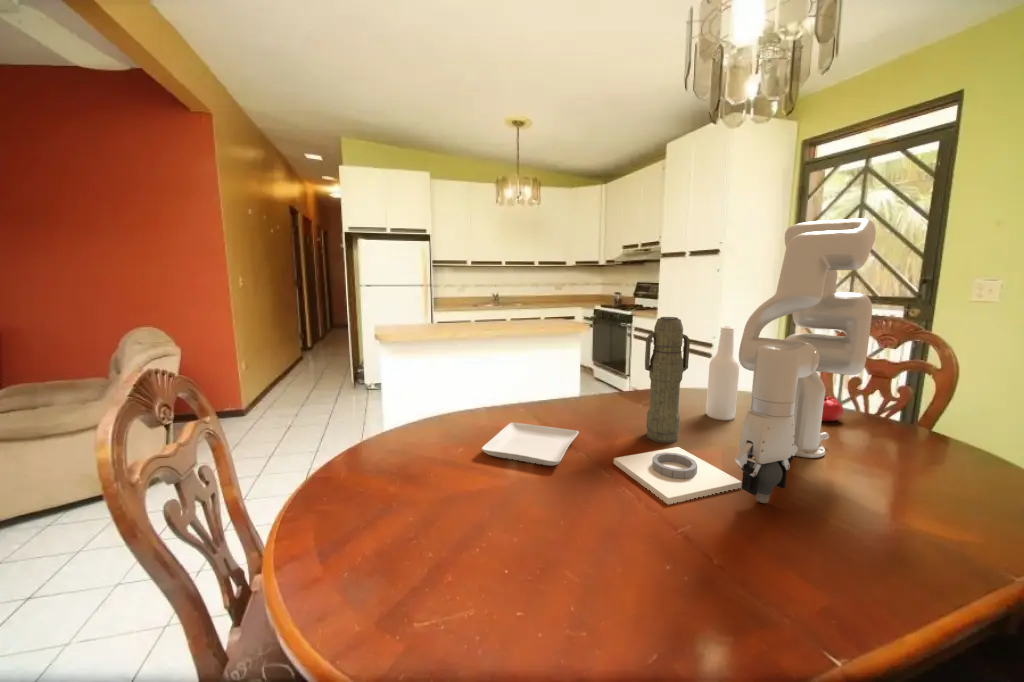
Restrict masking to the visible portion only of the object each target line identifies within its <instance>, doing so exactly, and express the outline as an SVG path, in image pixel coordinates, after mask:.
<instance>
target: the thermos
mask: <svg viewBox="0 0 1024 682" xmlns="http://www.w3.org/2000/svg"><path fill="white" fill-rule="evenodd" d="M652 339H653V342H652ZM652 343H653V349H652V354H651V348H652V345H651V344H652ZM690 344H691V339H690V338H689V336H688V335H687V334H685V333H684V327H683V324H682V320H681V318H679V317H675V316H660V318H657V320H656V322H655V325H654V328H653V332H651V333H649V334H648V336H647V337H646V338H645V351H644V352H645V353H644V355H645V356H644V370H646V371H648V372H649V376H648V377H649V380H650V391H649V408H648V411H647V413H646V425H645V427H646V435H645V436H646V438H647V439H649V440H651V441H654V442H656V443H662V444H672V443H676V442H677V441H678V440H679V431H680V421H681V417H680V416H681V415H680V412H679V406H680V405H679V404H680V390H681V389H680V388H681V383H682V380H683V374H684V372H685V371H686V370H688V369H689V357H690V347H691V346H690ZM682 347H683V351H682Z"/></svg>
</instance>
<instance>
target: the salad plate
mask: <svg viewBox="0 0 1024 682" xmlns="http://www.w3.org/2000/svg"><path fill="white" fill-rule="evenodd" d="M579 433H580V432H579V430H574V429H568V428H561V427H560V428H559V427H552V426H545V425H535V424H528V423H522V422H521V423H520V422H509V423H508V424H507V425H506V426H505V427H504V428H502V429H501V430H500V431H499V432H497V434H495V435H494V436H493V437H492V438H491V439H490V440H489V441H488V442H486V443H485V444H484V445H483V446H482V447H481V450H482V451H483V452H484V453H485V454H486V455H489V456H492V457H497V458H501V459H506V458H507V459H508V460H512V459H513V461H517V460H519V461H518V462H523V461H524V462H525V463H529V462H530V463H529V464H535V463H536V465H541V464H542V465H543V466H551V467H552V466H556V465H559V464H560V463H561V461H562V460H563V457H565V453H566V452H567V451H568V448H569V447H570V445H571V444H572V443H573V441H574V440H575V439H576V438H577V436H578V435H579Z"/></svg>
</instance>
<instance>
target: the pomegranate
mask: <svg viewBox="0 0 1024 682" xmlns="http://www.w3.org/2000/svg"><path fill="white" fill-rule="evenodd" d="M844 412H845V411H844V407H843V404H841V403H840V400H839V399H838V398H837V397H836V396H834V395H831V396H827V391H825V397H824V405H823V413H822V421H821V422H834V421H838V420H839V419H840V418H841V417H842V416H843V414H844Z"/></svg>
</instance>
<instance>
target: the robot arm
mask: <svg viewBox="0 0 1024 682" xmlns="http://www.w3.org/2000/svg"><path fill="white" fill-rule="evenodd" d="M876 234H877V233H876V226H875V223H874V222H873V221H872V220H871V219H869V218H868V219H867V218H849V219H834V220H832V219H831V220H829V219H828V220H815V221H806V222H798V223H796V224H795V223H794V224H792V225H790V226H789V227H788V228H787V229H786V231H785V233H784V245H785V253H784V257H783V260H782V266H781V269H780V273H779V278H778V283H777V288H776V292H775V294H774V295H773V296H772V297H770V298H768V299H767V300H766V301H764V302H763V303H761V304H760V305H759V306H758V307H757V308H756V309H755V310H754V311H753V312H752V313H751V315H750V316H749V318H748V319H747V321H746V323H745V325H744V328H743V332H742V337H741V341H740V345H739V351H738V362H739V365H740V366H741V367H742V368H743V369H745V370H748V371H751V372H753V374H752V375H753V376H752V388H751V397H750V406H749V411H747V412H746V415H745V418H744V421H743V426H742V429H741V433H740V440H739V448H738V453H737V454H736V455H734V461H735V462H736V463H737V465H738V467H739V469H740V471H741V472H742V481H741V482H742V485H741V489H742V490H743V491H745V492H747V493H749V494H751V495H752V496H756V495H757V490H758V481H759V477H758V476H756V475H757V473H758V471H759V469H760V467H761V465H762V464H766V463H771V462H777V463H778V464H779V465H780V467H781V469H782V473H783V474H782V479H781V481H780V482H779V483H778V484H777V485H776V486H775V487H778V488H780V489H785V488H786V485H787V476H788V470H790V467H791V465H790V464H791V462H792V461H793V460H794V456H795V457H801V458H810V459H814V458H815V459H817V458H821V457H823V456H825V454H826V449H825V447H824V446H823V445H821V441H823V440H828V439H829V438H830V434H829V433H828V432H825V431H823V432H821V429H822V422H823V421H822V413H823V405H824V397H825V392H826V387H825V384H824V382H823V380H822V378H820V376H819V375H818V374H817V372H818V373H821V372H823V373H829V374H836V375H844V376H845V375H846V376H856V375H859V374H861V373H862V372H863V371H864V369H865V365H866V362H867V358H868V349H869V343H870V342H869V341H870V335H871V328H872V327H871V326H872V319H873V318H872V317H873V304H872V301H871V300H872V299H870V298H869V296H868V295H866V294H864V293H859V292H841V291H840V292H838V291H837V280H838V271H857V270H859V269H861V268H862V267H863V266H864V265H865V264H866V262H867V260H868V258H869V256H870V253H871V251H872V250H873V249H872V248H873V247H874V245H875V244H874V243H875V240H876ZM788 315H792V320H793V323H794V324H795V326H798V327H799V328H805V329H814V330H825V331H826V330H827V331H836V332H837V331H839V332H842V333H844V335H845V336H841V335H829V334H822V333H820V334H819V333H807V332H804V333H803V332H799V333H798V332H797V333H793V334H790V335H788V336H786V338H785V339H782V338H781V339H780V338H769V337H760V335H761V332H762V330H763V329H764V328H765V327H767V325H768V324H769V323H771V322H773V321H775V320H777V319H779V318H782V317H785V316H788ZM754 459H755V460H754ZM751 462H753V463H755V464H754V466H753V468H751V467H750V466H749V465H750V463H751Z"/></svg>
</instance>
